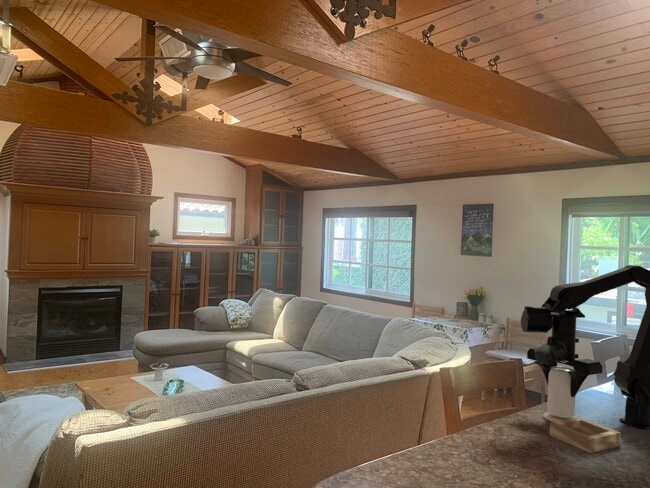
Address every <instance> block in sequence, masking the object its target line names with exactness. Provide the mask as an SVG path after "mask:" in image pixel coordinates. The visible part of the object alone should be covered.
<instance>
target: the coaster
mask: <svg viewBox="0 0 650 488" xmlns="http://www.w3.org/2000/svg"><path fill="white" fill-rule="evenodd" d="M543 418H544V419H545V420H546V421H548V420H549V421H548V422H550V423H552V422H557V421H563V420H568V419H573V418H577V417H576V416H575V415H574V416H573V417H572V418H568V419H566V418H559V417H555V416H552V415H550V414H549V413H548V412H547V411H546V412H544V413H543Z"/></svg>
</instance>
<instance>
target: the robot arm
mask: <svg viewBox="0 0 650 488" xmlns="http://www.w3.org/2000/svg"><path fill="white" fill-rule="evenodd" d="M632 283H635V284H636V285H638V286H640V287H642V288H645V291H644V299H645V304H646V305H645V310H644V312H643V316H642V319H641V321H640V323H639V327H638V330H637V333H636V336H635V339H634V342H633V345H632V348H631V351H630V354H629V356H628V358H627V359H626V360H624V361H621V360H618V361H617V363H616V368H615V371H614V372H612V375H613V376H614V377H613V378H614V380H613V381H614V383H615V385H616V387H617V388H619V390H620V393H621V395H623V396H625V397H626V399H625V406H624V407H625V409H624V417H621V418H619V422H621V423H625V424H627V425H629V426H634V427H636V428H639V429H643V430H646V429H650V270H649V269H647V268H645V267H643V266H641V265H638V264H637V265H636V264H628V265H624V266H623V267H621V268H618V269H616V270H613V271H609V272H607V273H605V274H601V275H598V276H595V277H593V278H590V279H587V280H585V281H580V282H572V283H564V284H559V285H558V284H557V285H555V286H554V287H552V288H551V291H550V293H549V297H548V298H547V299H546V300H545V301H544V302H543V304H542V305H541V306H540V307H539V306H537V307H536V306H529V305H525V306H524V309H523V311H522V315H521V317H520V327H521V330H522V332H524V333H536V334H537V333H538V334H540V333H543V334H547V333H549V331H551V335H550V336H547V340H546V343H545V344H542V345H540V346H538V347H530V348H529V349H528V350H527V351H526V359H528V360H531V361H534V364H535V365H537V366H539V368H540V369H541V370H542V372H543V373H542V374H544V375H543V376H544V377H545V381H546V384H547V386H548V380H549V372H550V370H551V367H555V366H557V367H558V364H561V365H565V366H569V367H572V369H573V371H568V373H569V375H570V376H571V397H575V398H576V395H577V394H578V392H579V390H580V389H581V386H582V385H583V383H584V381H586V379H588V377H589V376H591V375H599V374H603V365H602V362H600V361H598V360H594V359H589V358H582V359H579V354H578V353H576V343H580V339H579V338H577V318H579V319H580V318H581V319H585V318H586V315H585V314H584V313H583V312H581V310H580V308H578V307H580V306H581V305H583V304H585V303H586V302H587V301H589V299H591V298H593V297H595V296H596V295H597V296H598V295H600V294H603V293H605V292H609V291H612V290H615V289H617V288H620V287H623V286H625V285H628V284H632Z"/></svg>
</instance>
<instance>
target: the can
mask: <svg viewBox="0 0 650 488" xmlns="http://www.w3.org/2000/svg"><path fill="white" fill-rule="evenodd" d="M568 371H573V368H569V367H565V366H558V365H557V366H555V367H551V370H550V372H549V380H548V385H547V405H546V406H547V408H546V409H547V410H546V412H548V413H549V414H550V415H552V416H555V417H559V418H566V419H568V418H572V417H573V416H574V417H575V414H576V413H575V411H576V408H575V407H576V396H575V397H571V376H570V375H569V373H568Z"/></svg>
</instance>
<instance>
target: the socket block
mask: <svg viewBox="0 0 650 488" xmlns="http://www.w3.org/2000/svg"><path fill="white" fill-rule="evenodd" d="M621 434H622V433H621V432H620V431H617V430H615V429H612V428H609V427H606V426H603V425H601V424H599V423H596V422H593V421H590V420H588V419H585V418H582V417H576V418H573V419H568V420H563V421H557V422H550V423H549V436H550V437H553V438H554V439H558V440H560V441H562V442H564V443H567V444H569V445H571V446H574V447H576V448H578V449H580V450H582V451H586V452H588V453H589V454H591V453H595V452H599V451H603V450H604V451H605V450H608V449H613V448H615V447H620V446H621Z"/></svg>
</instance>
